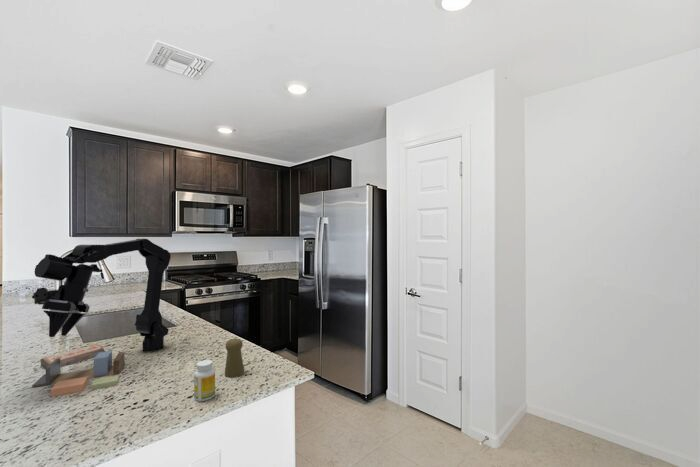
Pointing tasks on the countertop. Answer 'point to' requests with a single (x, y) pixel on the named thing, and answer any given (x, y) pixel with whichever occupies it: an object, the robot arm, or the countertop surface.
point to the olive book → (105, 382)
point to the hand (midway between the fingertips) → (57, 336)
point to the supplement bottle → (204, 381)
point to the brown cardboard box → (69, 386)
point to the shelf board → (92, 371)
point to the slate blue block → (102, 363)
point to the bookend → (49, 374)
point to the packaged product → (72, 356)
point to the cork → (234, 358)
